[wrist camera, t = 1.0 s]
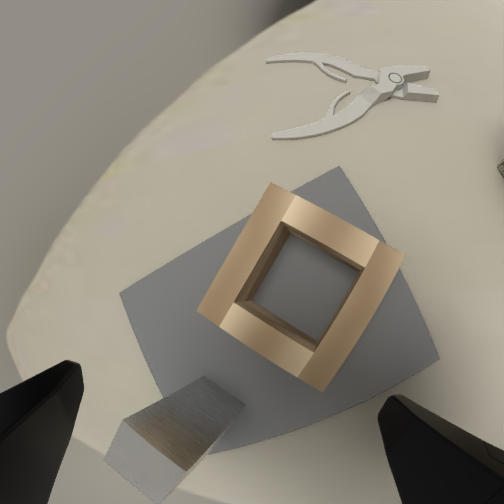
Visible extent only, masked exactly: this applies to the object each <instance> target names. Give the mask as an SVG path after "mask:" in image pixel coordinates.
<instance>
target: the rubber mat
mask: <svg viewBox="0 0 504 504" xmlns="http://www.w3.org/2000/svg"><path fill="white" fill-rule="evenodd" d="M291 193H293V194H295V195H297V196H299V197H301V198H303V199H305V200H307V201H309V202H311V203H313V204H314V205H316V206H318V207H320V208H322V209H324V210H326V211H328V212H330V213H331V214H333V215H335V216H337V217H339V218H341V219H342V220H344V221H346V222H348V223H350V224H352V225H353V226H355V227H357V228H359V229H360V230H362V231H364V232H366V233H368V234H369V235H371V236H373V237H375V238H376V239H378V240H380V241H381V242H383V243H385V244H386V242H385V240H384V238H383V237H382V235H381V233H380V231H379V230H378V228H377V226H376V224H375V223H374V221H373V219H372V217H371V216H370V214H369V212H368V211H367V209H366V207H365V206H364V204H363V202H362V201H361V199H360V197H359V196H358V194H357V193H356V191H355V189H354V188H353V186H352V185H351V183H350V181H349V180H348V178H347V177H346V175H345V174H344V172H343V171H342V169H341V168H340V166H338V167H336V168H334V169H332V170H330V171H328V172H327V173H325V174H323V175H321V176H319V177H317V178H315V179H314V180H312V181H310V182H308V183H306V184H304V185H303V186H301V187H299V188H297V189H295V190H294V191H292V192H291ZM251 215H252V214H251ZM251 215H249V216H247V217H245V218H244V219H242V220H240V221H238V222H237V223H235V224H233V225H231V226H230V227H228V228H226V229H225V230H223V231H221V232H219V233H218V234H216V235H214V236H213V237H211V238H209V239H207V240H206V241H204V242H202V243H201V244H199V245H197V246H196V247H194V248H192V249H191V250H189V251H187V252H185V253H184V254H182V255H180V256H179V257H177V258H175V259H174V260H172V261H170V262H169V263H167V264H166V265H164V266H162V267H161V268H159V269H157V270H156V271H154V272H152V273H151V274H149V275H148V276H146V277H144V278H143V279H141V280H139V281H138V282H136V283H135V284H133V285H131V286H130V287H128V288H127V289H125V290H123V291H122V292H120V296H121V299H122V302H123V305H124V307H125V310H126V313H127V316H128V318H129V321H130V323H131V326H132V329H133V331H134V334H135V336H136V338H137V341H138V343H139V346H140V348H141V350H142V353H143V355H144V357H145V360H146V362H147V364H148V366H149V369H150V371H151V373H152V375H153V377H154V380H155V382H156V384H157V386H158V388H159V390H160V392H161V394H162V396H163V398H165V397H167V396H169V395H170V394H172V393H174V392H176V391H177V390H179V389H181V388H183V387H184V386H186V385H188V384H190V383H191V382H193V381H195V380H196V379H198V378H200V377H202V376H203V375H204V376H205V377H207V378H208V379H210V380H211V381H212V382H214V383H215V384H217V385H218V386H219V387H221V388H222V389H224V390H225V391H227V392H228V393H230V394H231V395H232V396H234V397H235V398H237V399H238V400H240V401H241V402H243V403H244V404H246V406H245V407H244V409H243V410H242V412H241V413H240V414H239V416H238V417H237V418H236V420H235V421H234V422H233V424H232V425H231V426H230V428H229V429H228V430H227V432H226V433H225V434H224V436H223V437H222V438H221V439H220V441H219V442H218V443H217V444H216V445H215V446H214V447H213V449H212V450H211V451H210V452H209V453H208V454H207V455H209V454H213V453H218V452H222V451H226V450H230V449H234V448H238V447H242V446H246V445H249V444H253V443H256V442H260V441H263V440H266V439H270V438H273V437H276V436H279V435H282V434H285V433H288V432H291V431H294V430H296V429H299V428H302V427H305V426H307V425H310V424H313V423H315V422H318V421H320V420H323V419H325V418H328V417H330V416H332V415H335V414H337V413H339V412H342V411H344V410H346V409H349V408H351V407H353V406H355V405H357V404H359V403H361V402H364V401H366V400H368V399H370V398H372V397H374V396H376V395H378V394H380V393H382V392H384V391H386V390H387V389H389V388H391V387H393V386H395V385H397V384H399V383H400V382H402V381H404V380H406V379H407V378H409V377H411V376H413V375H414V374H416V373H418V372H419V371H421V370H423V369H424V368H426V367H428V366H429V365H431V364H432V363H434V362H436V361H437V360H439V356H438V353H437V351H436V348H435V346H434V343H433V341H432V338H431V336H430V334H429V331H428V329H427V326H426V324H425V322H424V319H423V317H422V315H421V313H420V310H419V308H418V306H417V304H416V302H415V299H414V297H413V295H412V293H411V291H410V289H409V287H408V285H407V283H406V281H405V279H404V277H403V275H402V273H401V271H400V269H398V271H397V273H396V275H395V277H394V279H393V281H392V283H391V284H390V286H389V288H388V290H387V292H386V294H385V295H384V297H383V299H382V301H381V303H380V304H379V306H378V308H377V310H376V311H375V313H374V315H373V316H372V318H371V320H370V322H369V323H368V325H367V327H366V328H365V330H364V331H363V333H362V335H361V336H360V338H359V339H358V341H357V343H356V344H355V346H354V347H353V349H352V350H351V352H350V354H349V355H348V357H347V358H346V360H345V361H344V363H343V364H342V366H341V367H340V368H339V370H338V371H337V373H336V374H335V376H334V377H333V379H332V380H331V381H330V383H329V384H328V386H327V387H326V388H325V390H324V391H323V392H321V391H319V390H318V389H316V388H314V387H312V386H311V385H309V384H307V383H306V382H304V381H302V380H301V379H299V378H297V377H296V376H294V375H292V374H291V373H289V372H287V371H286V370H284V369H283V368H281V367H279V366H278V365H276V364H275V363H273V362H271V361H270V360H268V359H267V358H265V357H264V356H262V355H261V354H259V353H257V352H256V351H254V350H253V349H251V348H250V347H248V346H247V345H245V344H244V343H242V342H241V341H239V340H238V339H236V338H235V337H233V336H232V335H230V334H229V333H227V332H226V331H224V330H223V329H222V328H220V327H219V326H217V325H216V324H214V323H213V322H212V321H210V320H209V319H207V318H206V317H204V316H203V315H202V314H200V313H199V312H197V309H198V307H199V305H200V303H201V302H202V300H203V298H204V296H205V295H206V293H207V291H208V289H209V288H210V286H211V284H212V282H213V281H214V279H215V277H216V275H217V274H218V272H219V270H220V268H221V267H222V265H223V263H224V261H225V260H226V258H227V256H228V254H229V253H230V251H231V249H232V248H233V246H234V244H235V242H236V241H237V239H238V237H239V235H240V234H241V232H242V230H243V229H244V227H245V225H246V223H247V222H248V220H249V218H250V217H251ZM357 274H358V271H356V270H354V269H353V268H351V267H349V266H347V265H346V264H344V263H342V262H340V261H339V260H337V259H335V258H333V257H332V256H330V255H328V254H327V253H325V252H323V251H321V250H319V249H318V248H316V247H314V246H312V245H311V244H309V243H307V242H305V241H303V240H302V239H300V238H298V237H296V236H295V235H293V234H290V236H289V237H288V239H287V241H286V242H285V244H284V246H283V248H282V249H281V251H280V253H279V255H278V256H277V258H276V260H275V261H274V263H273V265H272V267H271V268H270V270H269V272H268V273H267V275H266V277H265V278H264V280H263V282H262V284H261V285H260V287H259V289H258V290H257V292H256V294H255V295H254V297H253V299H252V301H253V302H255V303H257V304H258V305H260V306H261V307H263V308H264V309H266V310H268V311H269V312H271V313H272V314H274V315H276V316H277V317H279V318H280V319H282V320H284V321H285V322H287V323H289V324H290V325H292V326H293V327H295V328H297V329H298V330H300V331H302V332H303V333H305V334H307V335H308V336H310V337H311V338H313V339H315V340H316V341H318V339H319V338H320V336H321V335H322V333H323V332H324V330H325V328H326V327H327V325H328V324H329V322H330V320H331V319H332V317H333V315H334V314H335V312H336V311H337V309H338V307H339V306H340V304H341V302H342V300H343V299H344V297H345V295H346V294H347V292H348V290H349V288H350V287H351V285H352V283H353V281H354V280H355V278H356V276H357Z"/></svg>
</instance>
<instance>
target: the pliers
mask: <svg viewBox="0 0 504 504" xmlns="http://www.w3.org/2000/svg"><path fill="white" fill-rule="evenodd" d="M265 59H266V64H270V63H284V62H303V63H313V64H314V65H316V66H317V67H318V68H319V69H320V70H321V71H322V72H323V73H325V74H326V75H328V76H329V77H331V78H333V79H335V80H338V81H341V82H343V83H346V79H345V78H343V77H340V76H337V75H335V74H333V73H331V72H330V71H328V70H327V69H326V68H325V67H324V65H326V66H330V67H333V68H335V69H337V70H340V71H342V72H344V73H346V74H348V75H350V76H352V77H354V78H359V79H365V80H371V81H375V83H376V84H375V85H371V86H369V87H368V88H367V89H366V90H365V91H363V92H362V93H361V94H360V95H359V96H358V97H357V98H355V99H354V100H353V101H352V102H351V103H350V104H349V105H348V106H347V107H345V108H344V109H343V110H342V111H340V112H338V113H336V114H334V108H335V107H336V105H337V103H338V102H339V101H340V100H342V99H343V98H344V97H346V96H347V95H349V94H350V91H349V90H346V91H345V92H343V93H341V94H340V95H339V96H337V97H336V98H335V99H334V100H333V102H332V103H331V105H330V107H329V110H328V112H327V115H326V116H325V117H324V119H321V120H318V121H316V122H313V123H309V124H306V125H303V126H299V127H295V128H291V129H287V130H282V131H277V132H273V133H271V137H272V140H298V139H305V138H311V137H316V136H321V135H324V134H328V133H331V132H334V131H336V130H339V129H342V128H344V127H346V126H348V125H350V124H352V123H354V122H356V121H357V120H359V119H360V118H362V117H363V116H364V115H365V113H366V112H367V111H368V110H369V109H370V108H371V107H373V106H374V105H376V104H377V103H379V102H381V101H385V100H386V99H387V98H389V97H392V98H396V99H401V100H413V101H425V102H435V103H436V101H437V99H438V97H439V91H438V90H436V89H433V88H429V87H425V86H421V85H417V84H413V83H409V82H412V81H417V80H422V79H427V78H428V76H429V73H430V69H429V68H428V67H427V66H414V65H402V66H390V67H385V68H380V71H373V70H370V69H367V68H364V67H361V66H359V65H357V64H355V63H353V62H351V61H349V60H347V59H344V58H341V57H338V56H334V55H329V54H323V53H313V52H297V53H287V54H281V55H277V56H273V57H269V58H265ZM403 83H406V84H404V85H403Z"/></svg>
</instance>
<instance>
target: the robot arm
mask: <svg viewBox="0 0 504 504" xmlns="http://www.w3.org/2000/svg"><path fill="white" fill-rule="evenodd" d="M83 392H84V383H83V376H82V369H81V366H80V364H79V363H76V362H73V361H70V360H65V361H63V362H61V363H59V364H57V365H55V366H53V367H51V368H49V369H47V370H45V371H43V372H41V373H39V374H37V375H35V376H33V377H31V378H29V379H27V380H25V381H23V382H22V383H19V384H18V385H16V386H14V387H12V388H10V389H8V390H6V391H4V392H2V393H0V504H47V503H48V500H49V497H50V493H51V491H52V488H53V485H54V482H55V479H56V476H57V473H58V470H59V468H60V465H61V462H62V460H63V457H64V454H65V452H66V449H67V446H68V444H69V441H70V438H71V435H72V432H73V428H74V424H75V420H76V417H77V413H78V410H79V406H80V403H81V399H82V396H83ZM378 423H379V427H380V431H381V435H382V439H383V443H384V448H385V452H386V456H387V459H388V462H389V465H390V468H391V471H392V474H393V477H394V480H395V483H396V486H397V489H398V492H399V495H400V498H401V501H402V504H504V450H501V449H499V448H497V447H495V446H493V445H491V444H489V443H487V442H485V441H483V440H481V439H479V438H478V437H476V436H474V435H472V434H470V433H468V432H466V431H465V430H463V429H461V428H459V427H457V426H455V425H454V424H452V423H450V422H448V421H446V420H445V419H443V418H441V417H439V416H438V415H436V414H434V413H432V412H430V411H429V410H427V409H425V408H423V407H422V406H420V405H418V404H417V403H415V402H413V401H411V400H410V399H408V398H406V397H405V396H403V395H391V396H390V397H388V399H387V400H386V402H385V404H384V405H383V407H382V409H381V410H380V412H379V414H378Z"/></svg>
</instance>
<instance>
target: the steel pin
mask: <svg viewBox="0 0 504 504" xmlns="http://www.w3.org/2000/svg"><path fill="white" fill-rule="evenodd" d="M245 406H246V404H244V403H243V402H241V401H240V400H238V399H237V398H235V397H234V396H232V395H231V394H230V393H228V392H227V391H225V390H224V389H222V388H221V387H219V386H218V385H217V384H215V383H214V382H212V381H211V380H210V379H208V378H207V377H205V376H204V375H203V376H202V377H200V378H198V379H196V380H195V381H193V382H191V383H190V384H188V385H186V386H184V387H183V388H181V389H179V390H177V391H176V392H174V393H172V394H170V395H169V396H167V397H165V398H163V399H161V400H159V401H158V402H156V403H154V404H152V405H150V406H148V407H146V408H145V409H143V410H141V411H139V412H137V413H135V414H133V415H131V416H129V417H127V418H125V419H123V420H122V422H121V424H120V426H119V428H118V430H117V432H116V435H115V437H114V439H113V441H112V443H111V445H110V447H109V449H108V451H107V453H106V455H105V458H104V461H105V462H106V463H107V464H108V465H110V466H111V467H112V468H113V469H114V470H115V471H116V472H117V473H118V474H120V475H121V476H122V477H123V478H124V479H125V480H126V481H127V482H129V483H130V484H131V485H132V486H133V487H135V488H136V489H137V490H138V491H140V492H141V493H142V494H143V495H145V496H146V497H147V498H149V499H150V500H151V501H152V502H154V503H155V504H160V503H161V502H162V501H163V500H164V499H165V498H166V497H167V496H168V495H169V494H170V493H171V492H172V491H173V490H174V489H175V488H176V487H177V486H178V485H179V484H180V483H181V482H182V481H183V480H184V479H185V478H186V477H187V476H188V475H189V474H190V473H191V472H192V471H193V469H194V468H195V467H196V466H197V465H198V464H199V463H200V462H201V461H202V460H203V459H204V457H205V456H206V455H207V454H208V453H209V452H210V451H211V450H212V449H213V447H214V446H215V445H216V444H217V443H218V442H219V441H220V439H221V438H222V437H223V436H224V434H225V433H226V432H227V430H228V429H229V428H230V426H231V425H232V424H233V422H234V421H235V420H236V418H237V417H238V416H239V414H240V413H241V412H242V410H243V409H244V407H245Z"/></svg>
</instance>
